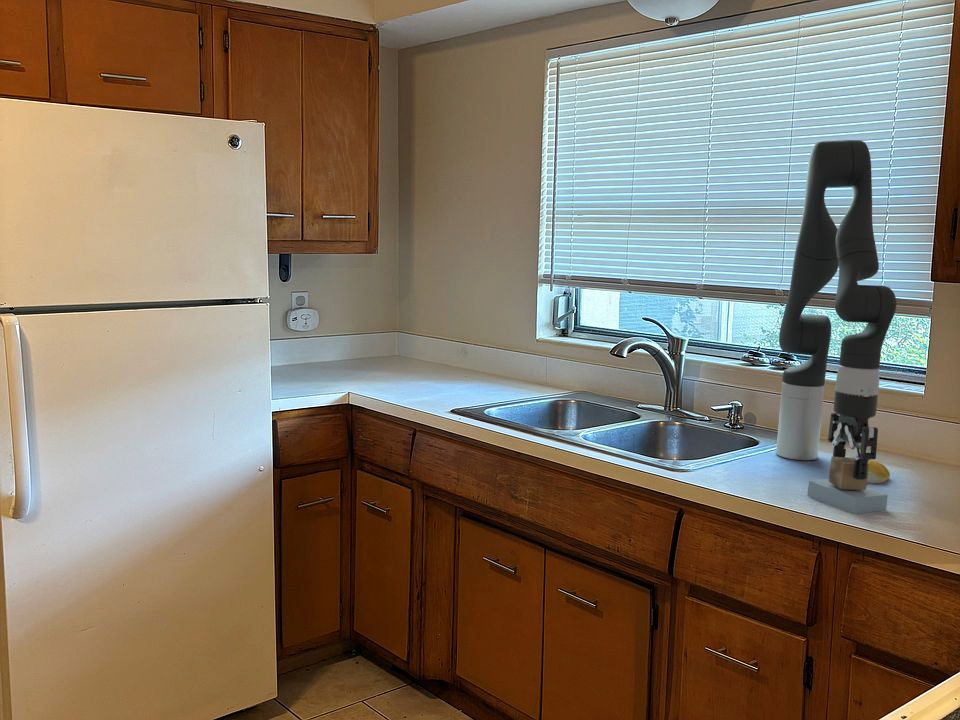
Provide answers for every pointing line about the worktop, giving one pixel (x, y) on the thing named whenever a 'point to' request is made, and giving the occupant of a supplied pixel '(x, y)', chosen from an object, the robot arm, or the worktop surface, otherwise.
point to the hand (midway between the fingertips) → (848, 472)
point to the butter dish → (847, 497)
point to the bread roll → (877, 472)
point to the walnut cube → (845, 474)
